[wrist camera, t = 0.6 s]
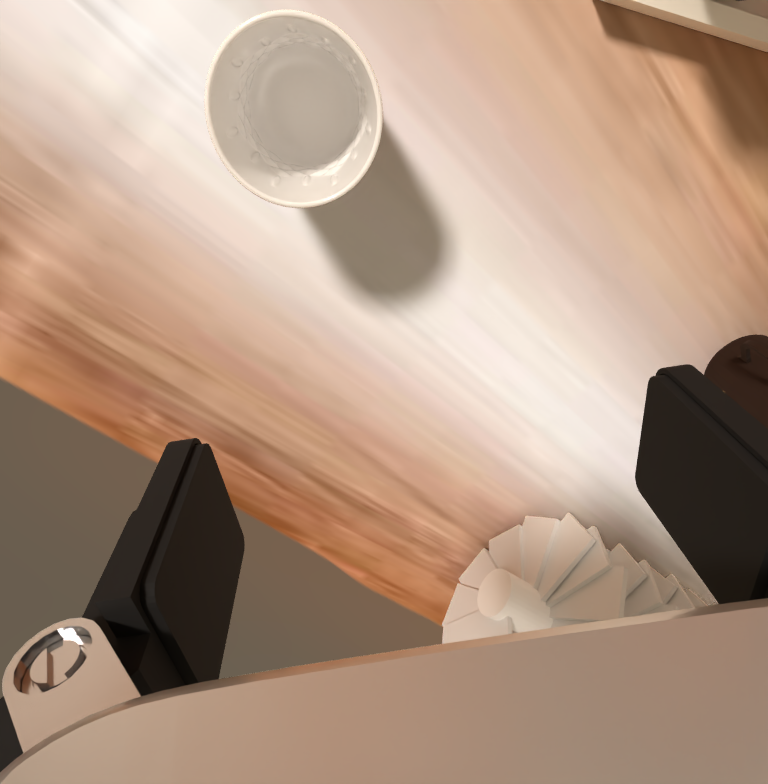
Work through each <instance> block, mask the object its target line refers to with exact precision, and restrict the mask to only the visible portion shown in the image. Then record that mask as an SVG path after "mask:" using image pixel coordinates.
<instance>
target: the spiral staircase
mask: <svg viewBox="0 0 768 784" xmlns="http://www.w3.org/2000/svg"><path fill="white" fill-rule="evenodd" d="M459 581H460V583H461V584H457V587H456V590H455V592H454V595H453V597H452V600H451V603H450V605H449V608H448V611H447V613H446V616H445V618H444V621H443V624H442V626H443V642H442V644H445V643H452V642H459V641H466V640H472V639H479V638H486V637H493V636H500V635H506V634H513V633H520V632H527V631H534V630H541V629H548V628H555V627H561V626H568V625H575V624H582V623H589V622H596V621H603V620H610V619H618V618H625V617H632V616H639V615H646V614H653V613H660V612H667V611H674V610H681V609H689V608H696V607H703V606H708V605H707V604H706V603H705V602H704V601H703V600H701V599H700V598H699V597H698V596H697V595H696V594H695V593H694V592H692V591H691V590H690V589H687V590H686V591H684V590H683V588H682V586H681V585H680V583H679V582H678V580H677V579H676V577H675V576H674V575H673V574H670V575H669V576H667V577H666V578H665V577H663V576H662V575H661V574H660V573H658V572H657V571H656V570H654V569H653V568H652V567H650V566H649V563H648V561H646V560H645V559H644V560H642V561H640V562H638V563H637V562H636V561H635V560H634V559H633V557H632V556H631V555H630V554H629V553H628V551H627V550H626V549H625V548H624V547H623V545H621V544H620V543H618V544H617V546H616V547H615V548H614V549H613V550H612V551H611V552H610V550H608V549H606V548H605V547H604V544H603V541H602V539H601V536H600V534H599V531H598V529H597V527H595V526H594V525H593V526H591V527H590V528H588V529H587V530H586V529H585V528H584V527H583V526H582V525H581V523H580V522H579V521H578V520H577V519H576V518H575V517H574V516H573V515H572V514H570V513H569V512H568V513H567V514H566V516H565V517H564V518H563V519H562V520H561V522H560V520H558V519H556V518H547V517H537V516H527V515H526V517H525V520H524V522H523V525H522V526H521V525H520V524H518V525H516V526H515V527H513V528H511V529H509V530H507V531H505V532H503V533H502V534H500V535H498V536H496V537H494V538H492V539H490V540H489V551H488V550H487V549H485V548H483V549H482V550H481V551H480V553H479V554H478V555H477V556H476V558H475V559H474V560H473V561H472V563H471V564H470V565H469V566H468V568H467V569H466V570H465V572H464V573H463V574H462V575H461V577H460V578H459ZM712 605H717V603H713V604H712Z"/></svg>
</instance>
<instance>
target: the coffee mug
mask: <svg viewBox="0 0 768 784" xmlns="http://www.w3.org/2000/svg"><path fill="white" fill-rule="evenodd" d="M704 376H705V377H707V378H708V379H709V380H710V381H711V382H713V383H714V384H715V385H716V386H717V387H719V388H720V389H721V390H722V391H723V392H725V393H726V394H727V395H728V396H729V397H731V398H732V399H733V400H734V401H735V402H737V403H738V404H739V405H740V406H741V407H743V408H744V409H745V410H746V411H747V412H748V413H750V414H751V415H752V416H753V417H754V418H756V419H757V420H758V421H759V422H760V423H762V424H763V425H764V426H765V427H766V428H768V337H767V336H764V335H749V336H745V337H741V338H739V339H736V340H734V341H732V342H730V343H729V344H727V345H726V346H724V347H723V348H722V349H721V350H719V351H718V352H717V353H716V355H715V356H714V357H713V358H712V359H711V361H710V362H709V364H708V366H707V368H706V370H705V374H704Z"/></svg>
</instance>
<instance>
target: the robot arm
mask: <svg viewBox="0 0 768 784" xmlns="http://www.w3.org/2000/svg"><path fill="white" fill-rule="evenodd" d="M635 479H636V484H637V487H638V490H639V492H640V493H641V495H642V496H643V498H644V499H645V500H646V502H647V503H648V505H649V506H650V507H651V509H652V510H653V512H654V513H655V514H656V516H657V517H658V519H659V520H660V521H661V523H662V524H663V526H664V527H665V528H666V530H667V531H668V533H669V534H670V535H671V537H672V538H673V540H674V541H675V543H676V544H677V545H678V547H679V548H680V550H681V551H682V552H683V554H684V555H685V557H686V558H687V559H688V561H689V562H690V564H691V565H692V566H693V568H694V569H695V571H696V572H697V573H698V575H699V576H700V578H701V579H702V580H703V582H704V583H705V585H706V586H707V587H708V589H709V590H710V592H711V593H712V595H713V596H714V597H715V599H716V600H717V602H718V603H719V604H717V605H710V606H703V607H696V608H689V609H681V610H674V611H667V612H660V613H653V614H646V615H639V616H632V617H625V618H618V619H610V620H603V621H596V622H589V623H582V624H575V625H568V626H561V627H555V628H548V629H541V630H534V631H527V632H520V633H513V634H506V635H500V636H493V637H486V638H479V639H472V640H466V641H459V642H452V643H445V644H439V645H432V646H425V647H418V648H412V649H405V650H399V651H392V652H385V653H379V654H372V655H366V656H360V657H353V658H346V659H339V660H333V661H326V662H320V663H314V664H307V665H300V666H294V667H287V668H282V669H276V670H269V671H263V672H258V673H252V674H246V675H240V676H234V677H229V678H222V679H219V674H220V669H221V664H222V659H223V654H224V649H225V644H226V639H227V634H228V629H229V624H230V619H231V614H232V609H233V604H234V599H235V593H236V589H237V584H238V578H239V574H240V569H241V563H242V559H243V554H244V536H243V533H242V530H241V528H240V525H239V522H238V519H237V517H236V514H235V511H234V508H233V506H232V503H231V500H230V498H229V495H228V492H227V490H226V487H225V484H224V482H223V479H222V476H221V474H220V471H219V468H218V465H217V463H216V460H215V457H214V455H213V452H212V449H211V447H210V446H209V444H207V443H206V444H201V442H200V440H199V439H197V438H193V439H186V440H180V441H173V442H169V443H168V444H167V446H166V448H165V450H164V452H163V454H162V457H161V459H160V461H159V463H158V465H157V467H156V470H155V472H154V474H153V476H152V478H151V480H150V483H149V485H148V487H147V489H146V491H145V493H144V496H143V498H142V500H141V502H140V504H139V506H138V508H137V510H135V511H134V512H133V513H132V514H131V516H130V517H129V519H128V521H127V523H126V525H125V528H124V530H123V532H122V534H121V536H120V538H119V540H118V542H117V545H116V547H115V549H114V551H113V553H112V555H111V557H110V559H109V561H108V564H107V566H106V568H105V570H104V572H103V574H102V576H101V578H100V581H99V583H98V585H97V587H96V589H95V591H94V593H93V595H92V597H91V600H90V602H89V604H88V606H87V608H86V610H85V613H84V615H83V616H82V618H74V619H67V620H65V621H61V622H58V623H55V624H54V625H52V626H50V627H48V628H46V629H44V630H42V631H41V632H39V633H38V634H37V635H36V636H34V637H33V638H31V639H30V640H29V641H27V642H26V643H25V645H24V646H23V647H22V648H21V649H20V650H19V651H18V652H17V653H16V654H15V655H14V657H13V659H12V660H11V662H10V663H9V665H8V666H7V668H6V671H5V674H4V677H3V680H2V689H3V695H4V696H3V697H2V698H1V699H0V784H768V428H766V427H765V426H764V425H763V424H762V423H760V422H759V421H758V420H757V419H756V418H754V417H753V416H752V415H751V414H750V413H748V412H747V411H746V410H745V409H744V408H743V407H741V406H740V405H739V404H738V403H737V402H735V401H734V400H733V399H732V398H731V397H729V396H728V395H727V394H726V393H725V392H723V391H722V390H721V389H720V388H719V387H717V386H716V385H715V384H714V383H713V382H711V381H710V380H709V379H708V378H707V377H705V376H704V375H703V374H702V373H701V372H699V371H698V370H697V369H696V368H695V367H693V366H692V365H680V366H673V367H666V368H661V369H659V370H658V371H657V373H656V376H653V377H651V378H650V379H649V382H648V388H647V395H646V402H645V409H644V416H643V423H642V431H641V438H640V445H639V452H638V459H637V466H636V473H635Z"/></svg>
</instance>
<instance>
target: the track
mask: <svg viewBox="0 0 768 784" xmlns="http://www.w3.org/2000/svg"><path fill="white" fill-rule="evenodd" d="M601 1H604V2H607V3H610V4H614V5H617V6H620V7H623V8H626V9H630V10H633V11H636V12H639V13H642V14H646V15H649V16H652V17H655V18H659V19H662V20H665V21H668V22H671V23H675V24H678V25H681V26H684V27H687V28H691V29H694V30H697V31H700V32H703V33H707V34H710V35H713V36H716V37H720V38H723V39H726V40H729V41H732V42H736V43H739V44H742V45H745V46H748V47H752V48H755V49H758V50H761V51H764V52H768V0H744V1H736V0H601Z"/></svg>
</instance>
